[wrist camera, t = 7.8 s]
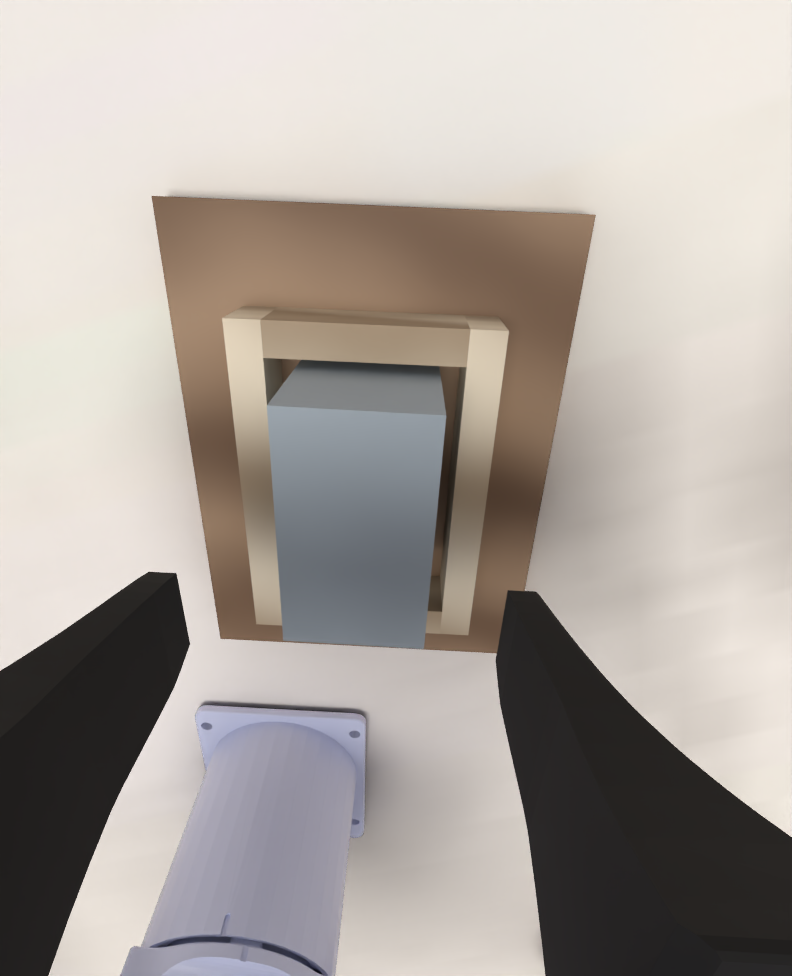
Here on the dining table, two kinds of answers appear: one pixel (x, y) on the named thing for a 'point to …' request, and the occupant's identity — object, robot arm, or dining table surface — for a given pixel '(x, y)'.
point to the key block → (356, 500)
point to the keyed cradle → (374, 339)
